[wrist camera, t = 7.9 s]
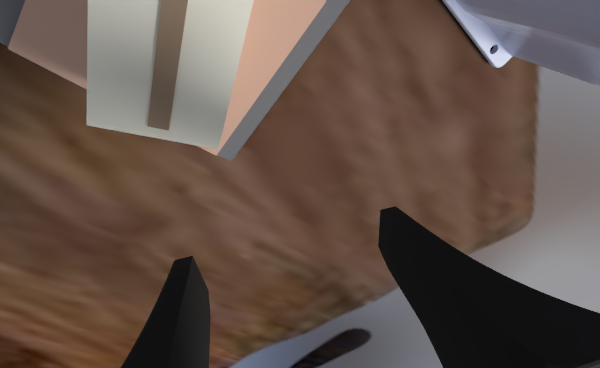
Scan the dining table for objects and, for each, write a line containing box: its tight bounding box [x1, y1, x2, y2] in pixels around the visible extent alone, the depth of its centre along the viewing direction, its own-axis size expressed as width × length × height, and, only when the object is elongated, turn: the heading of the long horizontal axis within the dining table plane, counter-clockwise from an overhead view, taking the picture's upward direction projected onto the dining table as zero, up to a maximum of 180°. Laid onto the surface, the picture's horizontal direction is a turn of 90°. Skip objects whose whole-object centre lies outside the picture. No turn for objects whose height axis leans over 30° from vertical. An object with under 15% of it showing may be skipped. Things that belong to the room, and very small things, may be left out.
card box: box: [87, 0, 254, 149], centre depth 13 cm, size 8×5×4 cm, turn 160°
